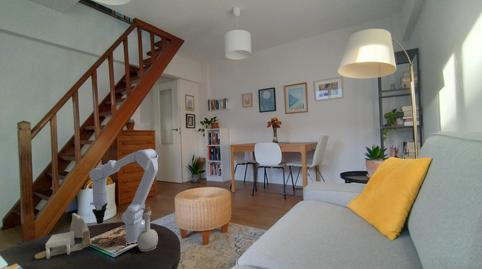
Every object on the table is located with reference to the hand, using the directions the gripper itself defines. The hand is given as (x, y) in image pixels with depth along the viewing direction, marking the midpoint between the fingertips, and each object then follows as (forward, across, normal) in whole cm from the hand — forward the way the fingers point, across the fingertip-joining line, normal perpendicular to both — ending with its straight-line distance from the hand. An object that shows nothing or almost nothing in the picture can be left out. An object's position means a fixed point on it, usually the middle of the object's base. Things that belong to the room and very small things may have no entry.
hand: (100, 220), depth 109 cm
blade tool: (+9, +3, -12) cm, 15 cm away
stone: (+10, -13, -10) cm, 19 cm away
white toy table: (+9, +3, -15) cm, 18 cm away
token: (+10, +3, -21) cm, 24 cm away
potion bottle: (+10, +20, +19) cm, 29 cm away
